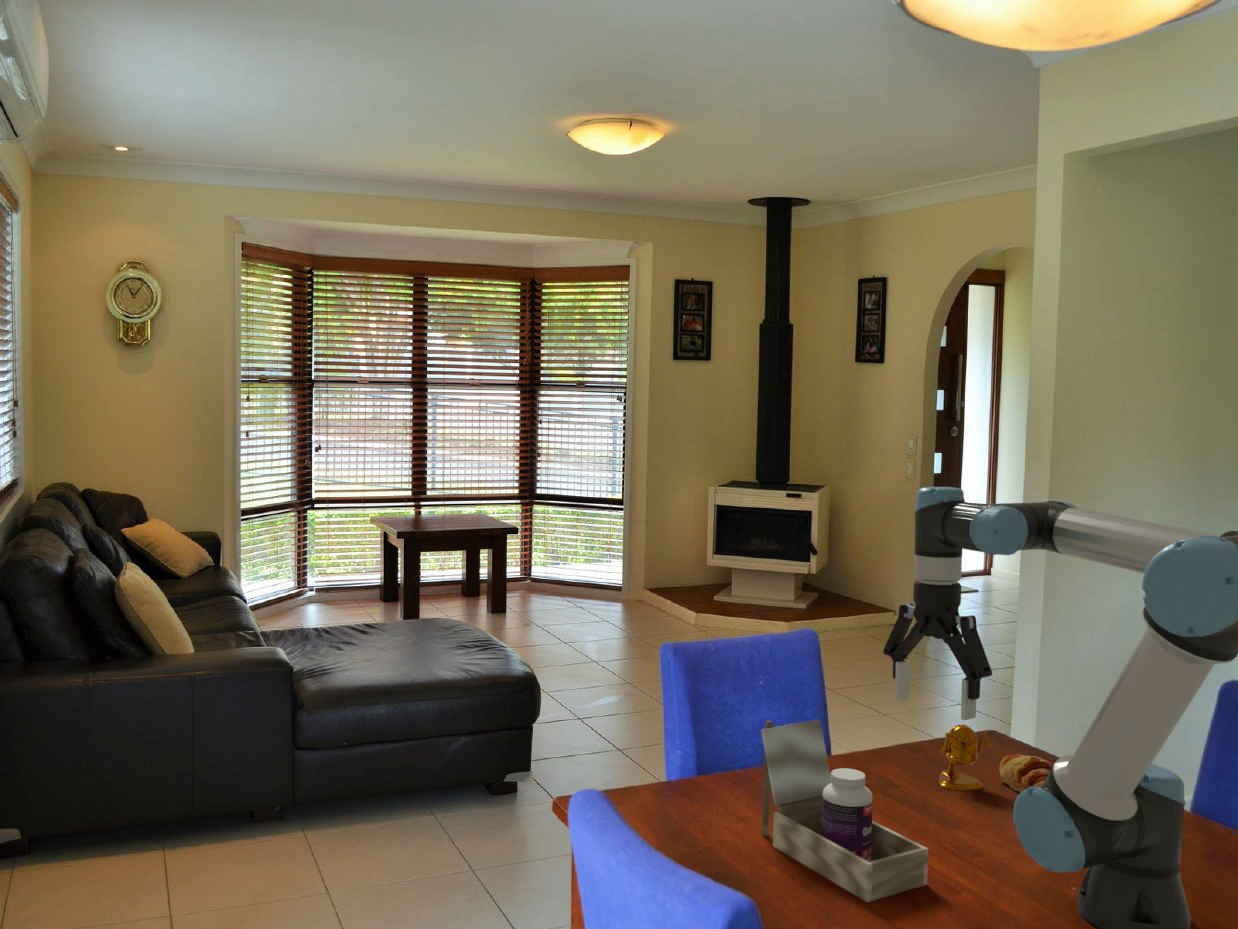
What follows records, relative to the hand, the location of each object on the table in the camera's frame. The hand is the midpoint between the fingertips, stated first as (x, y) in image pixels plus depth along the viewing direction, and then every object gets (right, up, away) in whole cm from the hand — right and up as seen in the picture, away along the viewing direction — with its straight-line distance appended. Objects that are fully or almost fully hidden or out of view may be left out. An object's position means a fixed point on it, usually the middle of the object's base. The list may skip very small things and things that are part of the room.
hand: (934, 708), depth 178 cm
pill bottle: (-15, -24, -2) cm, 29 cm away
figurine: (+15, -23, +36) cm, 45 cm away
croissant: (+29, -24, +35) cm, 52 cm away
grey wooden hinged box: (-16, -25, 0) cm, 29 cm away
